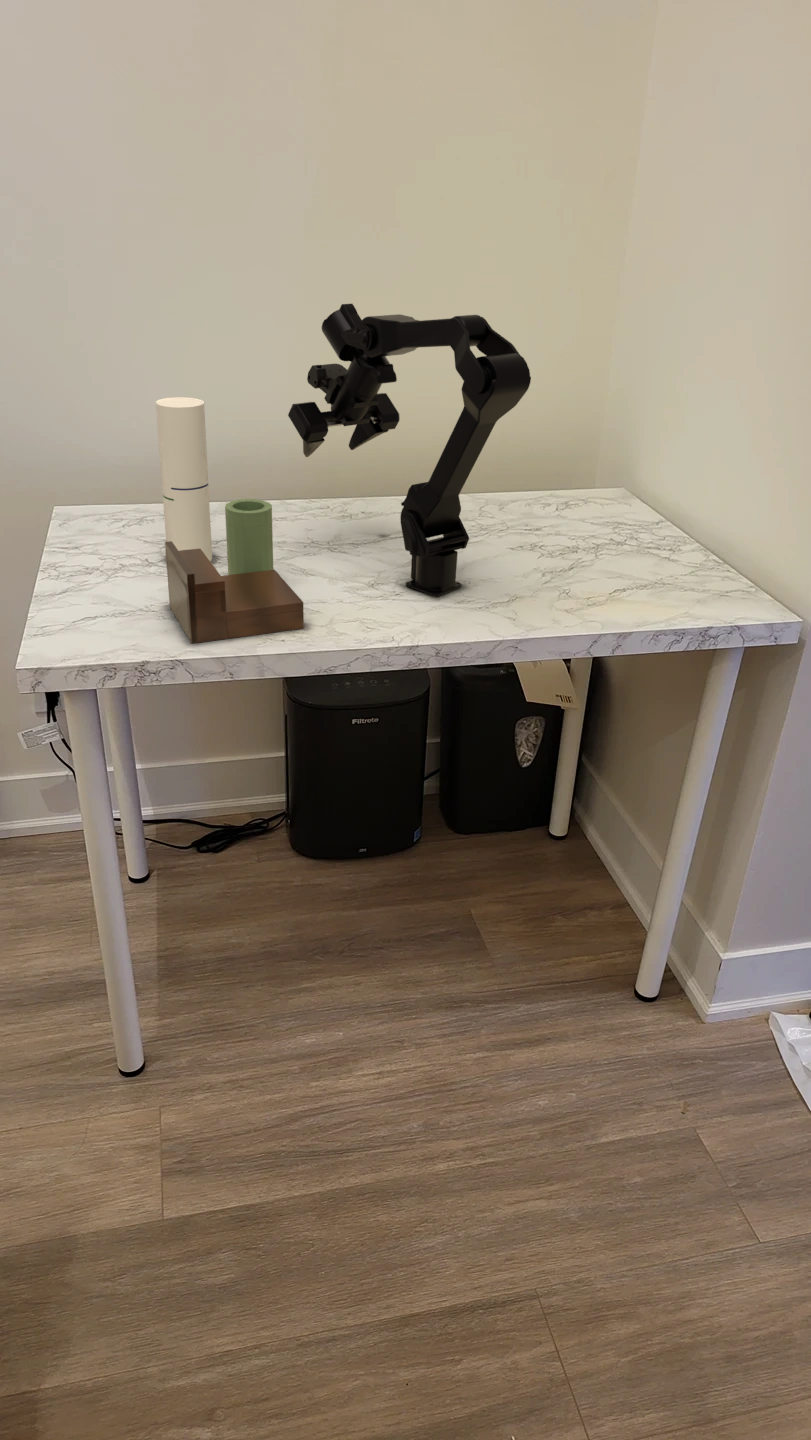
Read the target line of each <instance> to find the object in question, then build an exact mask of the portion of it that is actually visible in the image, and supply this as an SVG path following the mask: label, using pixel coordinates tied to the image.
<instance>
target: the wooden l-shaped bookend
mask: <svg viewBox="0 0 811 1440" xmlns="http://www.w3.org/2000/svg"><path fill="white" fill-rule="evenodd" d="M164 547H165V548H164V550H165V561H166V573H167V574H166V575H167V589H168V599H169V601H168V602H169V609H170V610H171V612H172V613H173V615H174V617H175V618H176V620H177V621H178V623H179V625H180V627H181V628H182V630H183V632H184V633H185V635H186V637H187V638H188V640H189V642H190V643H191V644H200V643H206V642H214V641H221V640H227V639H237V638H243V637H250V636H256V635H264V634H272V633H279V632H285V631H286V632H287V631H293V630H301V629H302V630H303V629H304V625H305V624H304V623H305V622H304V621H305V620H304V616H305V615H304V614H305V613H304V601H303V599H301V597H300V596H299V595H298V594H297V593H296V592H295V591H294V589H292V587H291V586H290V585H289V584H288V583H287V582H286V581H285V580H284V578H283V577H282V576H281V575H280V574H279V573H278V572H277V571H276V569H273V570H267V571H259V572H250V573H241V574H233V575H228V574H225V575H224V574H223V575H221V573H219V571H218V570H217V568H216V567H215V566H214V565H213V563H212V561H211V562H210V561H209V559H208V558H207V557H206V555H205V554H204V553H203V551H202V550H201V549H190V550H180V551H178V550H177V548H176V547H175V545H174V544H173V542H172V541H169V542H166V541H165V542H164Z"/></svg>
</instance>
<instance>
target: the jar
mask: <svg viewBox="0 0 811 1440" xmlns="http://www.w3.org/2000/svg"><path fill="white" fill-rule="evenodd" d="M224 513H225V514H224V515H225V533H226V534H225V535H226V536H225V537H226V551H227V552H226V557H227V558H226V559H227V575H233V574H241V573H250V572H259V571H267V570H274V541H273V540H274V537H273V536H274V535H273V505H272V503H270V502H269V501H266V500H262V499H255V498H242V499H241V498H240V499H235V500H232V501H229V502H227V503H225V506H224Z"/></svg>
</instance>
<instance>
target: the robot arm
mask: <svg viewBox="0 0 811 1440" xmlns="http://www.w3.org/2000/svg"><path fill="white" fill-rule="evenodd" d="M321 331H322V333H323V335H324V337H325V339H326V340H327V341H328V343H329V344H330V346H331V348H332V350H333V351H334V353H335V354H336V356H337V357H338V359H339V360H340V361H343V362H350V363H349V366H348V368H346V367H345V366H344V365H342V364H339V363H326V364H313V365H311V367H310V368H309V370H308V372H307V378H306V379H307V383H308V384H309V385H310V386H311V387H312V388H313V389H320V390H321V391H322V392H323V393H324V394H325V396H324V400H325V402H326V403H327V405H330V410H328V411H321V410H320V408H319V406H318V405H317V403H316V401H307V402H305V401H304V402H297V403H292V404H291V407H290V409H289V412H288V414H287V416H288V418H289V419H290V421H291V423H292V425H293V427H294V428H295V430H296V431H297V433H298V435H299V436H300V438H301V439H302V451H303V455H304V457H305V458H309V457H310V456H311V455H312V454H314V453H315V451H317V449H318V448H319V447H320V446H322V444H324V442H325V441H326V440H325V437H327V435H328V434H329V433H328V432H329V428H331V427H332V428H333V427H339V426H343V427H348V426H349V427H350V426H355V428H354V430H353V432H352V435H351V437H350V438H349V439H350V440H349V442H348V448H349V449H350V450H351V451H353V450H356V449H358V448H359V447H361V446H362V445H364V444H366V443H368V442H369V441H371V440H373V439H375V438H377V437H379V436H381V435H382V434H384V433H388V432H389V431H390V430H396V428H397V426H398V425H399V422H400V419H401V418H400V413H399V411H398V410H397V408H396V406H395V404H394V403H393V401H392V400H391V398H390V397H389V395H388V393H387V392H379V391H380V389H381V387H382V385H383V384H390V383H391V384H392V383H397V381H398V379H397V373H396V372H395V369H394V364H393V363H390V361H389V360H388V358H387V357H391V356H400V355H401V356H402V355H405V354H409V353H411V352H414V351H415V350H417V349H419V348H434V347H435V348H438V347H439V348H440V347H450V349H452V351H453V354H454V356H453V357H454V368H455V371H456V372H457V374H458V375H459V376H460V379H462V381H463V383H462V386H461V394H462V400H463V408H462V410H461V413H460V415H459V417H458V419H457V421H456V423H455V425H454V427H453V429H452V432H451V434H450V435H449V438H448V440H447V442H446V444H445V446H444V448H443V450H442V452H441V455H440V457H439V458H438V461H437V463H436V465H435V467H434V469H433V472H432V473H431V475H430V477H429V480H428V481H426V482H419V483H414V484H411V485H410V487H409V488H408V490H407V494H406V497H405V499H404V500H403V501H402V502H401V503H400V505H401V506H402V509H401V512H400V519H399V520H400V528H401V532H402V538H403V543H404V549H405V551H407V552H409V555H410V556H411V563H410V565H411V567H410V579H411V580H408V581H407V582H405V587H408V588H410V589H412V590H416V591H418V592H421V593H423V594H427V595H429V596H432V597H436V598H437V597H440V596H443V595H445V594H447V593H450V592H452V591H454V590H457V589H460V588H462V585H463V584H462V582H459V581H457V568H458V567H457V566H458V550H461V549H462V550H464V549H466V548H467V546H468V543H469V540H470V535H469V534H468V532H467V530H466V528H465V526H464V524H463V521H462V519H461V518H460V515H461V511H462V505H461V500H460V493H461V492H462V490H463V488H464V486H465V484H466V482H467V480H468V478H469V476H470V474H471V472H472V471H473V468H474V466H475V465H476V462H477V460H478V458H479V456H480V455H481V453H482V451H483V449H484V447H485V445H486V443H487V441H488V439H489V437H490V435H491V433H492V432H493V429H494V427H495V425H496V424H497V422H498V421H499V420H500V419H501V418H503V416H505V415H506V414H507V413H508V412H510V411H511V410H513V409H514V408H515V407H516V406H517V405H518V403H519V402H520V401H521V400H522V398H523V397H524V396H525V395H526V393H527V392H528V390H529V388H530V385H531V382H532V377H531V372H530V368H529V365H528V362H527V361H526V360H525V358H524V357H523V356H522V355H521V354H520V353H519V351H518V349H517V348H516V346H515V345H514V344H513V343H512V342H510V341H509V340H508V339H507V338H505V337H504V336H502V335H501V334H499V333H498V332H497V331H496V330H494V329H493V328H492V327H491V325H490V324H489V322H488V321H487V319H486V318H484V317H483V316H481V315H479V314H465V315H455V316H453V317H449V318H439V319H438V318H437V319H423V320H420V319H415V318H414V317H413V316H408V315H404V314H399V313H398V314H383V315H370V316H369V315H368V316H365V317H364V318H362V317H361V316H360V315H359V313H358V310H357V309H356V307H355V306H354V303H341V304H340V306H339V309H337V310H334V311H333V312H332V313H330V314H329V315H328V316H327V317H326V318H325V319H323V322H322V323H321ZM471 347H476V349H477V350H478V351H479V352H480V353H482V354H483V356H477V357H476V355H475V354H474V352H473V351H472V349H471ZM438 536H441V537H438ZM434 537H437V538H434ZM429 538H432V539H429ZM428 539H429V540H428Z"/></svg>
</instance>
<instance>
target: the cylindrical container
mask: <svg viewBox="0 0 811 1440" xmlns="http://www.w3.org/2000/svg"><path fill="white" fill-rule="evenodd" d="M155 409H156V424H157V438H158V453H159V464H160V477H161V478H160V479H161V491H162V503H163V505H162V506H163V517H164V518H163V519H164V531H165V542H169V541H172V542H173V544H174V545H175V547H176V548H177V550H178V551H180V550H190V549H201V550H202V551H203V553H204V554H205V555H206V557H207V558H208V559H209V561H210V562H211V563H212V561H213V545H212V530H211V529H212V527H211V509H210V506H211V505H210V487H209V470H208V453H207V450H208V449H207V434H206V433H207V432H206V412H205V411H206V410H205V402H204V400H203V399H200V398H195V397H190V396H189V397H187V396H186V397H185V396H183V397H182V396H174V397H173V396H172V397H171V396H170V397H164V398H160V399H158V400H156V401H155Z"/></svg>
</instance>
